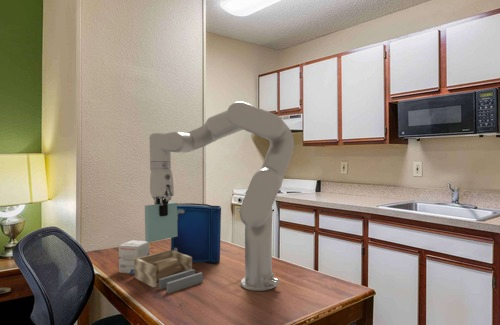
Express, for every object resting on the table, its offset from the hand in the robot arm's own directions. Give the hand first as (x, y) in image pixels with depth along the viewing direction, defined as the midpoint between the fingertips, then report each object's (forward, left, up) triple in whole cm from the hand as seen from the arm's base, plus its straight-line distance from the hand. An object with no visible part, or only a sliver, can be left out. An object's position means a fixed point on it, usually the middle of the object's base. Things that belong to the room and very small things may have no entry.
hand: (161, 215), depth 126 cm
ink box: (+14, +4, -24) cm, 28 cm away
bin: (-1, 0, -24) cm, 24 cm away
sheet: (0, 0, -9) cm, 9 cm away
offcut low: (-4, 0, -23) cm, 23 cm away
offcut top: (-4, +1, -19) cm, 20 cm away
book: (+7, -21, -24) cm, 33 cm away
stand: (-13, 0, -24) cm, 27 cm away
